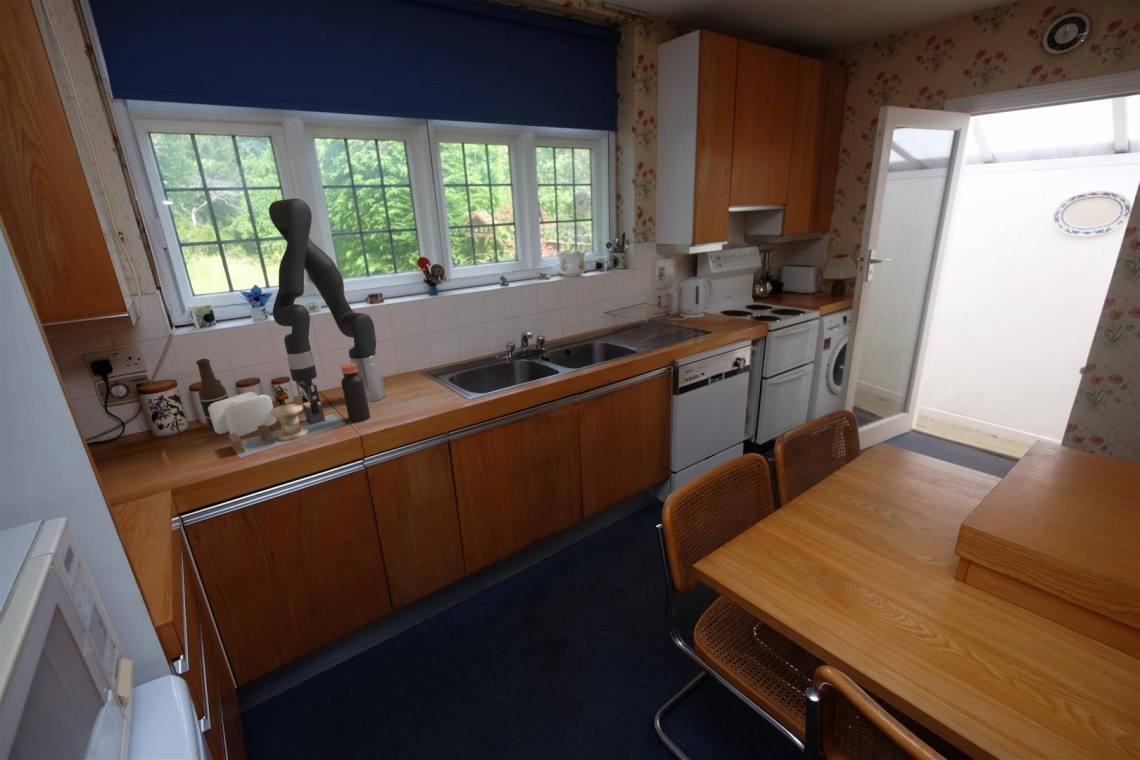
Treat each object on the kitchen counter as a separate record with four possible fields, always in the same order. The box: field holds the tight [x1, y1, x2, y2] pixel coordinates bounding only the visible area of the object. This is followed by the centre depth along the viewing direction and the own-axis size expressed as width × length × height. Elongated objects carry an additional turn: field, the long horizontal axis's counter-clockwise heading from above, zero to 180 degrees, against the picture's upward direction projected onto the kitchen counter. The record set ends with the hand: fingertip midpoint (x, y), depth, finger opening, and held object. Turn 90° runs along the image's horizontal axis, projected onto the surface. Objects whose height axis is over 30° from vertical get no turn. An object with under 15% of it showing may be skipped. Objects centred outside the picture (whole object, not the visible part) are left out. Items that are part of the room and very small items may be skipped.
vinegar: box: [340, 362, 371, 424], centre depth 167 cm, size 7×7×20 cm
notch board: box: [227, 425, 274, 455], centre depth 153 cm, size 10×8×4 cm
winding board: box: [236, 414, 347, 459], centre depth 160 cm, size 31×13×1 cm, turn 134°
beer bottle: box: [195, 358, 229, 431], centre depth 168 cm, size 8×8×24 cm
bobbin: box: [270, 403, 309, 441], centre depth 158 cm, size 9×9×9 cm
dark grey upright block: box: [302, 401, 325, 425], centre depth 168 cm, size 4×4×7 cm
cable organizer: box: [208, 391, 277, 438], centre depth 165 cm, size 15×11×12 cm
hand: (311, 410), depth 168 cm, fingers open, 8 cm apart
